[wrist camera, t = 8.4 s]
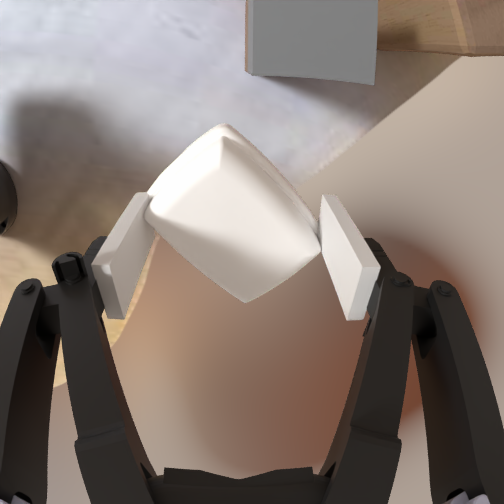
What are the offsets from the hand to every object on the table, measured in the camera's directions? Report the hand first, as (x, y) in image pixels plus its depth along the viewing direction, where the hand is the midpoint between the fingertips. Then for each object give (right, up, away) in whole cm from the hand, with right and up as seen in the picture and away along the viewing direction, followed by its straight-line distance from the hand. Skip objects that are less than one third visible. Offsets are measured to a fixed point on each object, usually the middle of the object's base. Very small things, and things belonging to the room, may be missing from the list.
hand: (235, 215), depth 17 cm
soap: (0, 0, +1) cm, 1 cm away
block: (+20, +29, +13) cm, 38 cm away
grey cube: (+5, +19, +8) cm, 21 cm away
